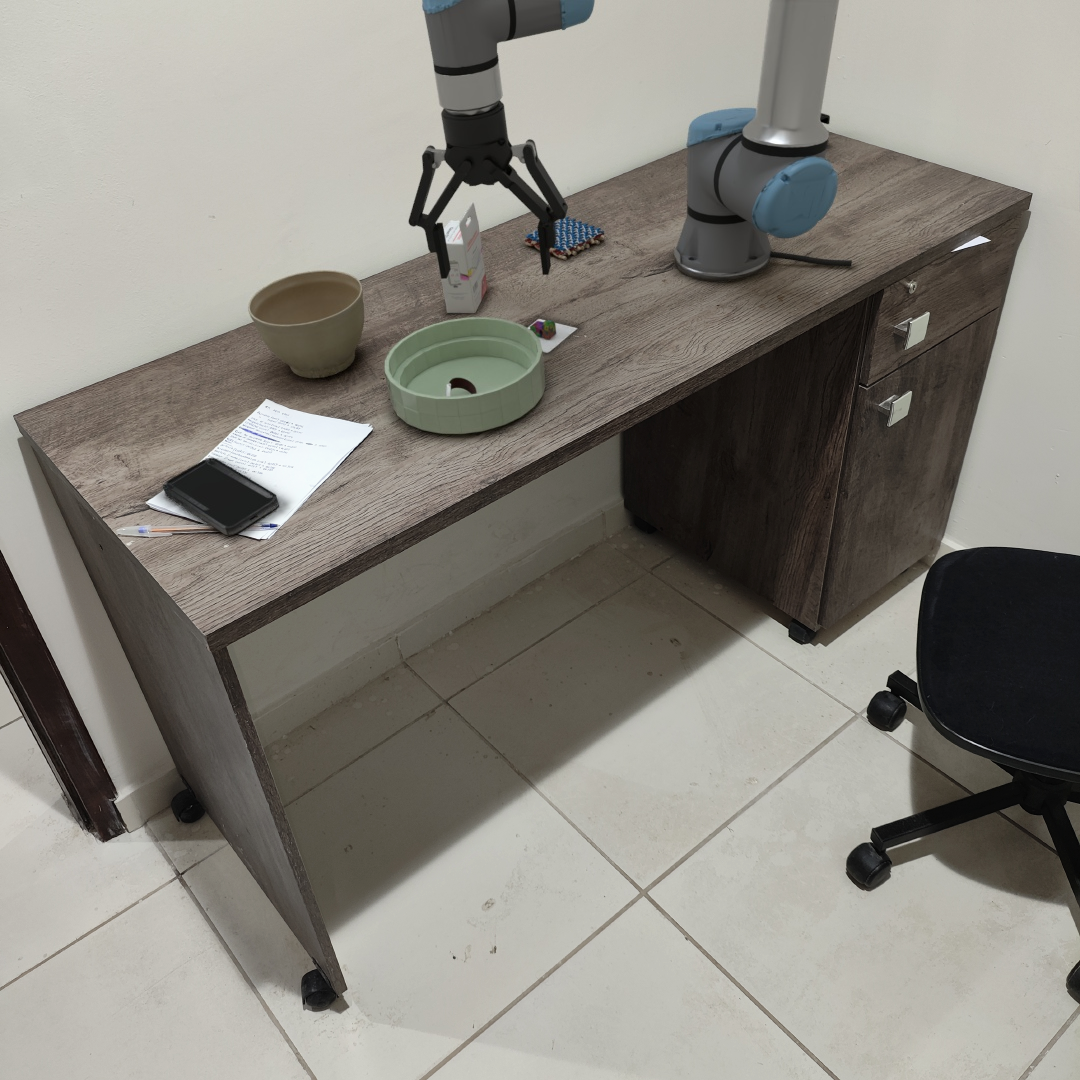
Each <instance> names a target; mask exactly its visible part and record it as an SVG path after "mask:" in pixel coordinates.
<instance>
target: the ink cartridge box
mask: <svg viewBox="0 0 1080 1080" xmlns="http://www.w3.org/2000/svg"><path fill="white" fill-rule="evenodd" d="M469 218H470V220H468V219H469ZM443 228H444V234H445V239H446V245H447V251H448V257H449V262H450V268H451V270H450V272H449V274H448V277H447V279H441V275H440V274H439V276H440V282H441V287H442V292H443V298H444V303H445V309H446V313H447V314H476V312H477V310H478V309H479V306H480V304H481V302H482V301H483V298H484V297H485V294H486V292H487V291H488V282H487V274H486V269H485V268H486V267H485V260H484V253H483V246H482V240H481V239H482V238H481V231H480V224H479V219H478V215H477V211H476V206H475V203H474V202H471V203H470V205H469V206H468V208H467V209H466V211H465V213H464V214H463V216H462V217H461V219H460V220H448V221H447V223H446V225H445V226H444V227H443ZM435 254H436V253H435ZM436 256H437V254H436ZM436 260H437V261H438V259H437V258H436ZM437 266H438V267H439V264H438V263H437ZM438 271H439V272H440V270H439V269H438Z"/></svg>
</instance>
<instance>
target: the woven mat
mask: <svg viewBox="0 0 1080 1080" xmlns="http://www.w3.org/2000/svg"><path fill="white" fill-rule="evenodd" d="M576 220H577V219H576V218H570V216H566V217H565V218H564V219H562V220H560V219H559V220H557V222H555V231H556V242H555V245H554V248H549V252H550V255H553V256H555V257H556V258H558V259H561V260H563V261H566V260H567V259H568V257H567V256H570V255H573V256H577V252H580V251H584V250H585V249H590V245H594V244H595V245H596V246H597V245H599V244H601V242H600V241H603V240H604V239H605V231H604V230H603V229H602V228H601V227H595V226H596V225H589V223H587V222H585V223H583V221H582V220H579V221H576ZM525 238H526V239H524V243H525V245H526V246H529V247H534V248H535V249H536V250H538V251H540V247H539V238H538V230H533V232H531V233H528V234H527V235H526V236H525Z"/></svg>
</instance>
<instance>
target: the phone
mask: <svg viewBox="0 0 1080 1080" xmlns="http://www.w3.org/2000/svg"><path fill="white" fill-rule="evenodd" d="M162 489H163V491H164V493H165V496H166V497H168V498H169V499H171V500H172V501H174V502H175V503H177V504H178V505H180V506H181V507H183V508H185V509H186V510H187V511H189V512H191V513H192V514H193V515H195V516H196V517H197V518H199V519H201V520H202V521H204V522H205V523H207V524H208V525H209V526H211V527H213V528H214V529H216V530H217V531H219V532H220V533H222V534H223V535H225V536H235V535H237V534H239V533H240V532H242V531H243V530H245V529H247V528H248V527H249V526H251V525H252V524H254V523H256V522H257V521H259V520H261V519H263V518H264V517H265V516H267V515H268V514H270V513H271V512H273V511H275V510H276V509H278V507H279V505H280V504H279V499H278V496H277V494H276V493H275V492H272V491H271V490H269V489H268V488H266V487H264V486H263V485H262V484H259V483H258V482H256V481H254V480H253V479H251V478H249V477H248V476H246V475H244V474H243V473H241V472H239V471H237V470H236V469H235V468H233V467H231V466H229V465H228V464H227V463H225V462H223V461H221V460H220V459H217V458H215V457H208V458H205V459H202V460H201V461H199V462H198V463H196V464H194V465H193V466H190V467H188V468H187V469H186V470H184V471H182V472H180V473H179V474H177V475H175V476H173V477H172V478H169V479H168V480H167V481H164V483H163V484H162Z"/></svg>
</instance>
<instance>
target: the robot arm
mask: <svg viewBox="0 0 1080 1080" xmlns="http://www.w3.org/2000/svg"><path fill="white" fill-rule="evenodd" d="M768 2H769V3H768V10H767V19H766V27H765V36H764V42H763V51H762V60H761V67H760V76H759V83H758V92H757V99H756V100H757V101H756V108H755V107H732V108H725V109H719V110H713V111H710V112H706V113H703V114H700V115H698V116H697V117H696V118H694V119H693V120H691V122H690V124H689V126H688V129H687V130H688V131H687V140H686V149H687V151H686V152H687V159H686V160H687V161H686V165H687V166H686V169H687V170H686V173H687V174H686V217H685V220H684V223H683V226H682V229H681V232H680V234H679V238H678V241H677V244H676V247H675V246H674V247H673V254H674V257H675V258H674V260H675V261H674V263H675V266H676V268H677V269H678V270H679V271H680V272H681V273H683V274H684V275H686V276H688V277H691V278H694V279H697V280H700V281H701V280H702V281H709V282H734V281H739V280H744V279H748V278H751V277H754V276H756V275H759V274H760V273H762V272H764V271H765V270H766V269H767V268H768V267H770V264H771V261H772V260H771V259H773V258H774V259H780V260H788V261H795V262H800V263H806V264H811V265H818V266H829V267H851V268H852V265H853V264H852V263H853V260H852V259H850V260H849V259H827V258H821V257H813V256H807V255H801V254H795V253H787V252H780V251H773V250H772V246H771V242H770V238H769V235H770V236H773V237H775V238H778V239H793V238H796V237H800V236H802V235H804V234H806V233H807V232H809V231H811V230H812V229H813V228H815V227H816V225H817V224H818V223H819V221H822V220H823V219H824V218H825V217H826V215H827V214H828V212H829V211H830V209H831V208H832V205H833V204H834V201H835V199H836V196H837V192H838V188H839V187H838V186H839V178H838V173H837V171H836V170H835V169H834V166H833V165H832V163H831V161H828V160H827V159H826V155H827V149H828V145H829V144H828V142H829V136H830V133H829V132H830V131H829V130H828V129H827V127H826V126H825V124H824V123H822V122H821V121H820V116H821V113H822V109H823V103H824V97H825V91H826V85H827V80H828V79H827V77H828V73H829V66H830V60H831V53H832V48H833V47H832V46H833V42H834V41H833V40H834V34H835V28H836V22H837V16H838V10H839V3H840V0H769V1H768ZM421 3H422V4H421V7H422V11H423V14H424V19H425V25H426V30H427V36H428V41H429V46H430V52H431V57H432V63H433V72H434V78H435V79H434V80H435V83H436V86H435V87H436V91H437V98H438V104H439V106H440V107H441V108H442V111H441V113H440V116H441V122H442V128H443V134H444V141H445V149H441V148H440V149H439V148H436V147H435V146H434V145H431V144H429V145H427V147H426V148H425V150H424V151H423V153H422V154H421V163H422V173H421V177H420V179H419V183H418V187H417V190H416V194H415V197H414V201H413V203H412V206H411V207H412V208H411V211H410V213H409V217H408V224H409V226H410V227H413V228H414V227H419V228H422V229H423V230H424V233H425V238H426V243H427V248H428V249H427V250H428V251H429V253H430V254H434V253H435V254H437V255H436V260H437V259H438V260H437V265H438V264H439V266H438V271H439V270H440V271H439V276H440V275H441V277H440V280H441V279H447V277H448V274H449V272H450V270H451V268H450V262H449V257H448V251H447V245H446V239H445V234H444V228H445V227H444V224H443V222H438V220H439V218H440V217H441V215H442V214H443V213H444V211H445V209H446V207H447V206H448V204H449V203H450V201H451V200H452V199H453V197H454V195H455V193H456V192H457V191H458V189H459V188H460V186H461V184H462V183H464V184H466V185H469V187H477V186H479V185H484V186H494V185H495V184H496V183H498V182H499V184H501V186H502V187H503V188H505V189H508V190H509V192H511V193H512V194H513V195H514V196H515V197H516V198H517V199H518V200H519V201H520V202H521V203H522V204H523V205H524V206H525V207H526V208H527V209H528V210H529V212H531V213H532V214H533V215H534V216H535V217H536V218H537V219H538V223H537V227H536V228H537V231H538V238H539V247H540V250H539V255H540V265H541V272H542V276H549V274H550V271H551V266H552V263H551V253H550V252H549V248H554V245H555V242H556V231H555V225H556V224H555V223H556V222H558V221H559V219H560V220H562V219H565V218H566V217H567V214H568V209H569V207H568V204H567V202H566V201H565V198H564V197H563V195H562V194H561V191H559V189H558V187H557V185H556V184H555V182H554V181H553V179H552V178H551V176H550V174H549V172H548V171H547V168H545V166H544V164H543V163H542V161H541V159H540V157H539V155H538V150H537V146H536V142H535V141H534V140H533V139H532V138H531V139H530V138H529V139H527V140H526V141H525V142H524V143H520V144H514V145H512V143H511V141H510V139H509V135H508V126H507V117H506V110H505V104H504V102H502V101H501V100H502V98H503V96H504V94H503V86H502V85H503V84H502V77H501V70H500V62H499V60H500V59H499V54H498V44H499V43H505V42H508V41H513V40H517V39H522V38H527V37H531V36H536V35H541V34H545V33H550V32H555V31H561V30H562V31H565V30H566V29H568V28H571V27H575V26H578V25H581V24H584V23H586V22H587V21H588V20H589V19H590V17H591V16H592V14H593V12H594V7H595V0H421ZM513 157H514V158H515V157H516V158H517V159H518V161H519V162H520V163H521V164H525V167H526V169H527V171H528V174H529V176H531V178H532V180H533V181H534V183H535V185H536V186H537V188H538V190H539V191H540V193H541V194H542V196H543V198H544V199H545V200H544V199H543V198H542V197H541V196H540V195H539V194H538V193H537V192H536V191H535V190H534V189H533V188H532V187H531V186H530V185H529V184H528V183H527V182H526V181H525V180H524V179H523V177H521V176H520V175H519V174H518V172H517V170H516V169H515V168H514V167H513V166H512V165H511V164H510V163H511V161H512V160H513ZM442 162H445V164H447V165H448V167H449V168H450V169H451V170H452V171H453V175H452V176H451V178H450V180H449V181H448V183H447V185H446V186H445V187H444V189H443V190H442V193H440V195H439V197H438V199H437V200H436V202H435V204H434V205H433V207H432V208H431V210H430V211H429V213H428V214H426V213H424V209H425V207H426V203H427V200H428V197H429V194H430V190H431V187H432V183H433V180H434V176H435V174H436V170H437V169H439V168H440V167H441V165H442ZM768 234H769V235H768Z"/></svg>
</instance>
